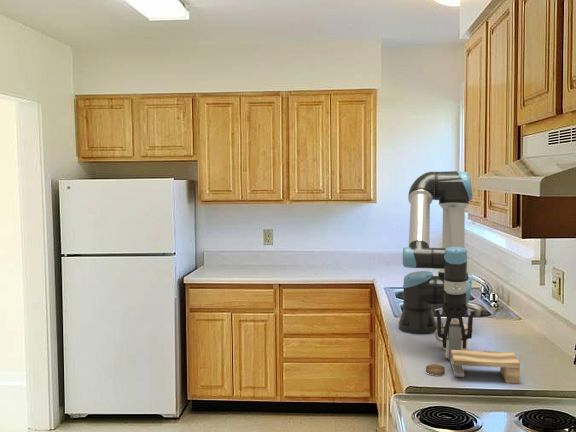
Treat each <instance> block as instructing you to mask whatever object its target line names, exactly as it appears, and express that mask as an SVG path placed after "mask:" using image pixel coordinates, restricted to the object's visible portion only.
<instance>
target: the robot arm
mask: <svg viewBox="0 0 576 432" xmlns="http://www.w3.org/2000/svg"><path fill="white" fill-rule="evenodd" d="M472 185H473V184H472V180H471V175H470V173H468V171H459V170H458V171H451V170H450V171H427V172H425V173H423V174H421V175H419V177H417V178H416V179H415V180H414V182H413V183H412V184H411V186H410V187H409V190H408V195H407V196H408V198H407V200H408V202H409V204H410V210H409V211H410V212H409V231H408V232H409V233H408V234H409V235H408V246H405V247H403V248H402V265H403V268H410V269H434V270H435V269H437V270H438V269H439V270H438V273H437V274H438V275H434V274H433V272H432V271H429V270H420V271H413V272H409V273H407V274H406V275H404V277H403V284H402V288H403V295H402V296H403V298H402V300H403V301H402V302H403V303H402V306H403V307H402V308H403V309H402V312H401V315H400V318H399V320H398V329H399V330H400V331H402V332H405V333H409V334H412V335H413V334H415V335H427V334H431V333H435V331H436V330H437V333H436V335H437V337H438V338H439V339H441V340H443V342H442V349H443V348H446V351H445V358H446V359H448V358H449V339H448V338H447V335H448V331H449V326H450V322H451V321H452V320H453V319H454V318H456V319H458V321H459V325H460V327H461V334H462V338H461V350H463V349H465V348H466V340H467V341H468V340H470V339H472V338H473V337H472V336H473V323H474V322H473V321H474V316H475V315H476V312H475V310H474V309H471V308H468V306H467V305H468V304H469V302H470V297H471V292H472V283H473V282H472V281H473V278H472V277H471V276H469V272H468V250H467V249H466V248H465V233H466V232H465V228H466V227H465V219H466V214H465V213H466V212H465V211H466V208H467V207H468V206H469V205H470V203H469V201H472V200H473V187H472ZM433 201H438V205H439V206H440V208H442V247H430V234H431V233H430V230H431V229H430V227H431V225H430V223H431V221H430V219H431V217H430V216H431V204H432V202H433ZM434 305H437V306H441V307H439V308H438V307H436V308H435V309H434V312H435V314H436V318H435V315H434V312H433V306H434ZM443 313H445V315H446V320H445V322H444V323H445V327H444V332H443V331H441V329H442V315H443ZM466 313H467V326H468V330H467V334H465V329H464V324H465V323H464V319H463V316H465V314H466ZM463 323H464V324H463Z"/></svg>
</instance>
